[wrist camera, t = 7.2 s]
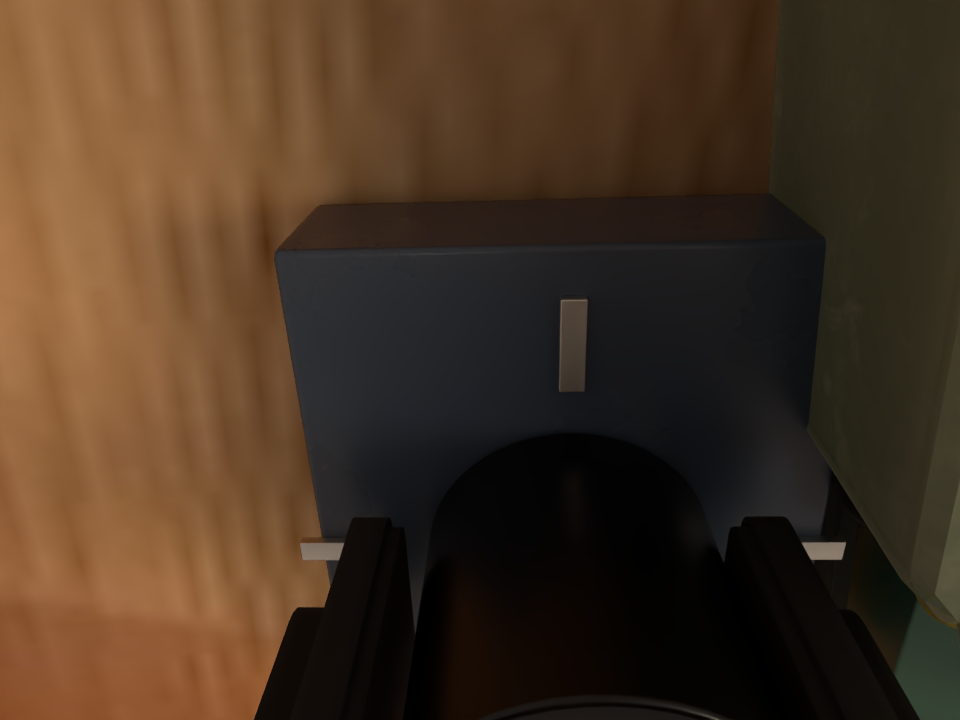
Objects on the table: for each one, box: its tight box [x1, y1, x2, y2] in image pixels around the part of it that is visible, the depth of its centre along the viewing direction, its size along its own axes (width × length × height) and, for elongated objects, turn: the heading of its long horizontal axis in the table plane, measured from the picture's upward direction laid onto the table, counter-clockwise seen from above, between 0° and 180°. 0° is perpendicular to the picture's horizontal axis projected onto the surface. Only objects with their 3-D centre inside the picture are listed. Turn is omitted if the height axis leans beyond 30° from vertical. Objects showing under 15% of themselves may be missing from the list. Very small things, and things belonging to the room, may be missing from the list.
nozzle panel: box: [274, 194, 846, 634], centre depth 12 cm, size 10×9×3 cm
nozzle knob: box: [403, 433, 784, 720], centre depth 9 cm, size 4×4×5 cm
